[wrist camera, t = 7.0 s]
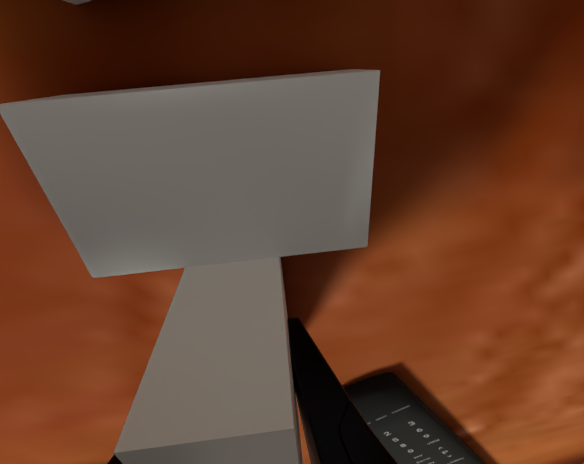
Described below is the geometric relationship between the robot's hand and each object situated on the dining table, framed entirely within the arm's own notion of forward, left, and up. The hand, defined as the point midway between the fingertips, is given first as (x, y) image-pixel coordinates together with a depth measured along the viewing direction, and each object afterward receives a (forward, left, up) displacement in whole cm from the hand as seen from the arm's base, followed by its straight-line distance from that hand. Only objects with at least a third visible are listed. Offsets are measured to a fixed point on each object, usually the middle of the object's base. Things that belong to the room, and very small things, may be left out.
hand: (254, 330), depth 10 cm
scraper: (+2, 0, -1) cm, 2 cm away
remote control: (-17, -10, -2) cm, 20 cm away
